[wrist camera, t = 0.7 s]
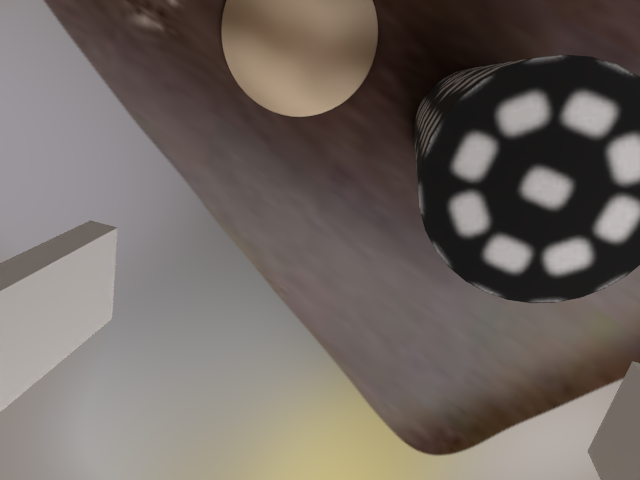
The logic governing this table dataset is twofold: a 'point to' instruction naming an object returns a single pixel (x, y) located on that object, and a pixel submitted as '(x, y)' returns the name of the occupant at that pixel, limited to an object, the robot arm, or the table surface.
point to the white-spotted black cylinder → (533, 175)
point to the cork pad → (299, 51)
